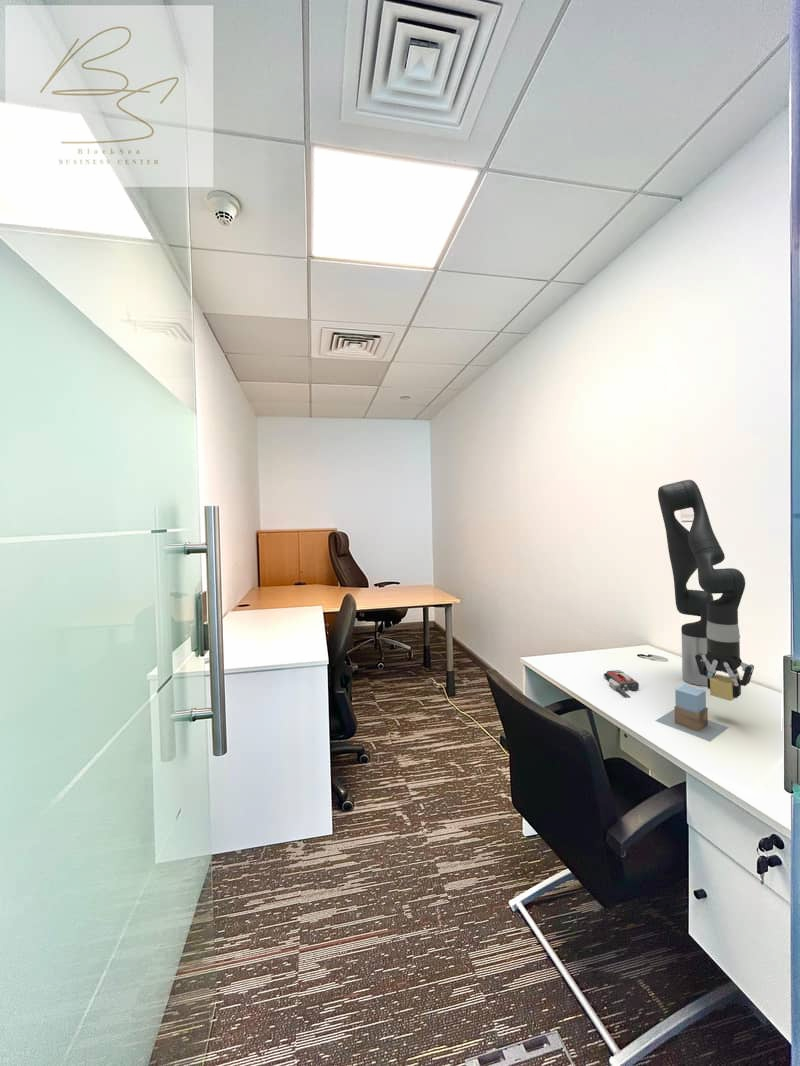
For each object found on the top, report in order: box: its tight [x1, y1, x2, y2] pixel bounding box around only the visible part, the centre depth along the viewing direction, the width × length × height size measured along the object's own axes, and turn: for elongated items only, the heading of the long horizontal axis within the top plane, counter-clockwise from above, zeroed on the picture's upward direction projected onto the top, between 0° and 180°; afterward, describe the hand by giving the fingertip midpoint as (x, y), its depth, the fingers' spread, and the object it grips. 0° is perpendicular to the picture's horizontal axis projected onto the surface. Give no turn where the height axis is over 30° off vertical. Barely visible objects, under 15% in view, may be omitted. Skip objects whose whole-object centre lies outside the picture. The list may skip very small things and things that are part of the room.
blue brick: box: [674, 684, 707, 713], centre depth 119 cm, size 6×6×5 cm
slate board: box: [655, 709, 730, 742], centre depth 119 cm, size 12×14×1 cm
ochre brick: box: [709, 673, 735, 702], centre depth 120 cm, size 5×5×5 cm
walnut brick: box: [673, 705, 709, 731], centre depth 119 cm, size 6×6×5 cm
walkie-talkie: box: [603, 669, 640, 699], centre depth 147 cm, size 9×4×20 cm
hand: (724, 693), depth 120 cm, fingers closed on ochre brick, 5 cm apart
